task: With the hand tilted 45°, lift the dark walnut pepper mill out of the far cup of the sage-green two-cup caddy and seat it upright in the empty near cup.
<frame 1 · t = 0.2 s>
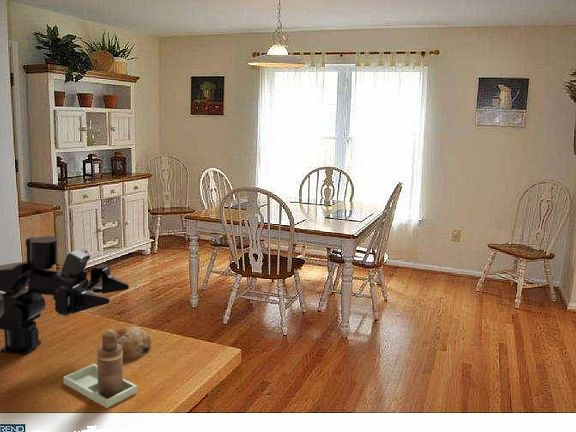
hand: (119, 293, 118), 16 cm above the table, tool horizontal, fingers open, 9 cm apart
caddy: (100, 389, 109), on the table
bread roll: (127, 352, 127), on the table
pepper mill: (110, 393, 107), point 1 cm above the table, touching caddy
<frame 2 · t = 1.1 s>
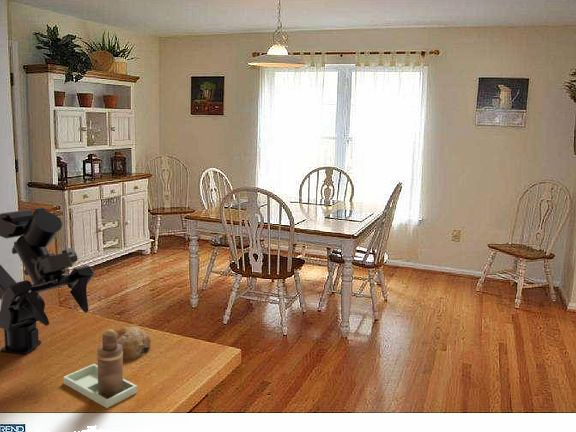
hand: (68, 318, 112), 13 cm above the table, tool tilted 45°, fingers open, 9 cm apart
nothing on the table moved.
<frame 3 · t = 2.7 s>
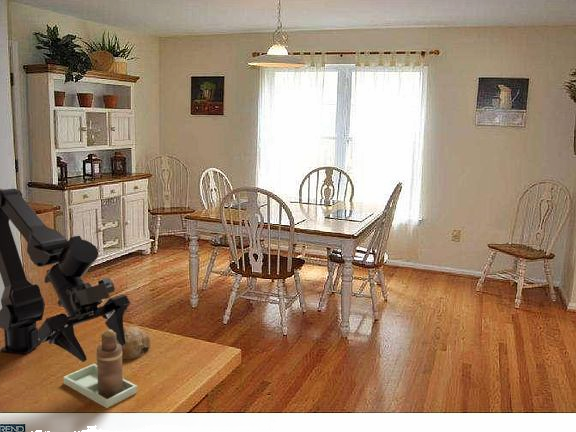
hand: (105, 352, 106), 9 cm above the table, tool tilted 45°, fingers open, 9 cm apart
nothing on the table moved.
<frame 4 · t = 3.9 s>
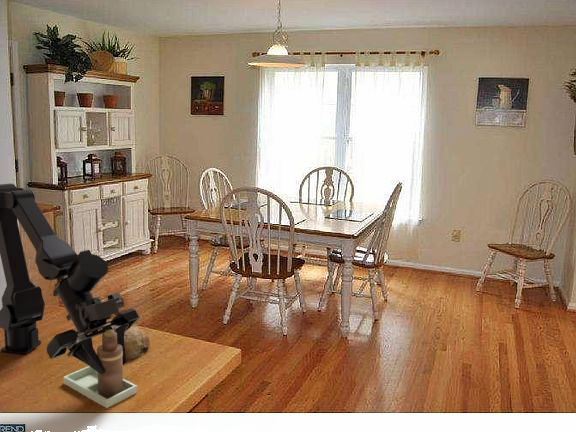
hand: (114, 368, 105), 7 cm above the table, tool tilted 45°, fingers closed on pepper mill, 5 cm apart
pepper mill: (110, 393, 107), point 1 cm above the table, touching caddy, gripper
everything else where it was.
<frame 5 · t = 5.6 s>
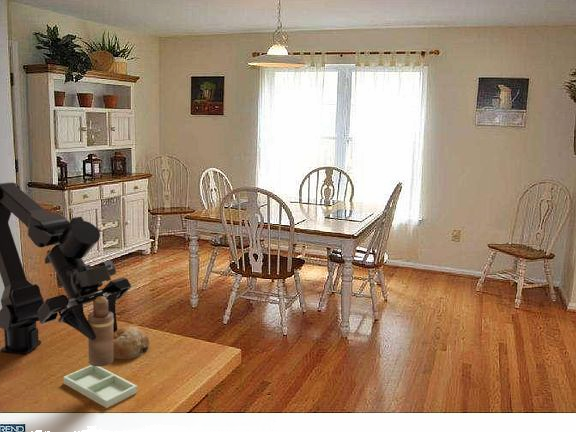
hand: (105, 335, 106), 13 cm above the table, tool tilted 45°, fingers closed on pepper mill, 5 cm apart
pepper mill: (101, 360, 108), point 7 cm above the table, touching gripper
everything else where it was.
when the fingers open (8 cm above the table, at t = 7.6 s): pepper mill drops 1 cm, resting on caddy.
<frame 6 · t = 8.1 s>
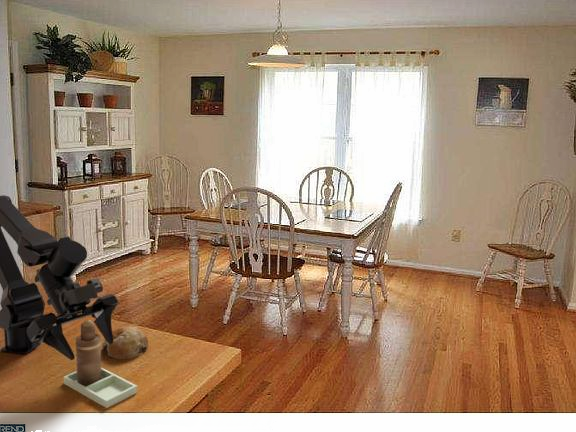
hand: (93, 351, 109), 8 cm above the table, tool tilted 45°, fingers open, 9 cm apart
pepper mill: (89, 381, 111), point 1 cm above the table, touching caddy
everything else where it was.
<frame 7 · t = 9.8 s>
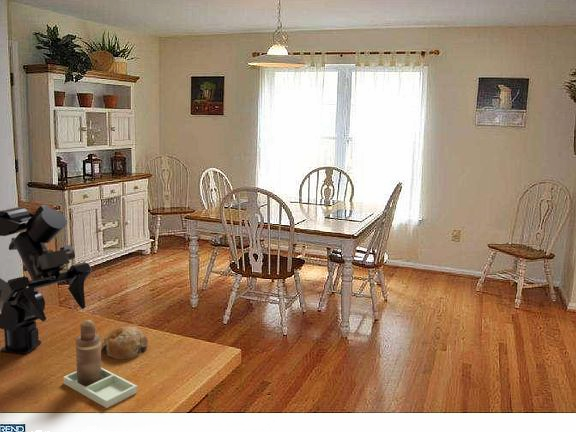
hand: (64, 314, 114), 13 cm above the table, tool tilted 45°, fingers open, 9 cm apart
nothing on the table moved.
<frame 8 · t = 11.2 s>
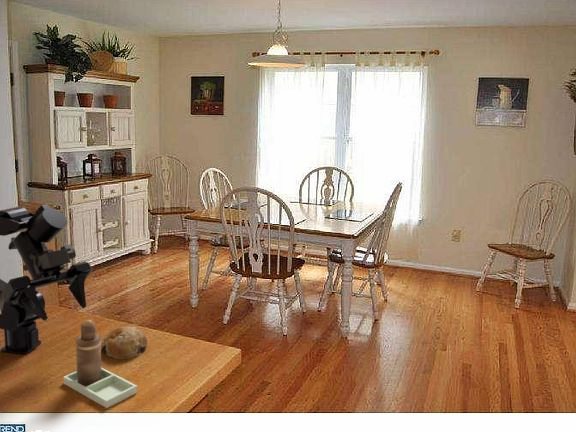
hand: (66, 313, 115), 13 cm above the table, tool tilted 45°, fingers open, 9 cm apart
nothing on the table moved.
at the end: pepper mill 0.2 cm from the target spot, point 0.5 cm above the table; pepper mill tilted 0°; the gripper is holding nothing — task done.
